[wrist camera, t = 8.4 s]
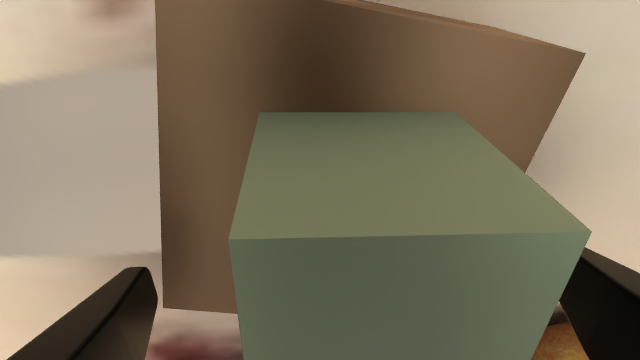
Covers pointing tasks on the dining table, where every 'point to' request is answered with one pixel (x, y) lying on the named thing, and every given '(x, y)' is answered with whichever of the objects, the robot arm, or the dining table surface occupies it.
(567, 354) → the fruit
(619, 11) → the dining table surface
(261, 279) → the sage cube
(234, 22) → the walnut block
